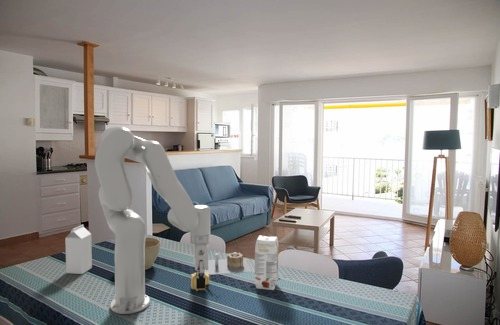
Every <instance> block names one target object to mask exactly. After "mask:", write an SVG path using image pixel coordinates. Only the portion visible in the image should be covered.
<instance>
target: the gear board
mask: <svg viewBox="0 0 500 325" xmlns="http://www.w3.org/2000/svg"><path fill="white" fill-rule="evenodd" d="M233 253H234V257H237V253H238V252H233ZM214 255H215V256H214V259H208V270H205V273H209V276H212V275H213V276H214V275H224V274H225V275H226V274H240V273H251V272H253V270H252V267H251V266H250V265H249V262H248V260H247V259H246V257H243V265H242V267H239V268H230V267H229V266H227V258H224V259H223V258H222V259H220V257H219V255H220V254H219V253H217V252H216V253H215V254H214Z"/></svg>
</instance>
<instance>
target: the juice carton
mask: <svg viewBox="0 0 500 325" xmlns="http://www.w3.org/2000/svg"><path fill="white" fill-rule="evenodd" d="M278 278H279V238H278V236H265V235H261V234H260V235H258V237H257V239H256V240H255V246H254V283H255V284H254V285H255V288H256V289H258V290H268V291H274V290H275V289H276V285H277V282H278Z"/></svg>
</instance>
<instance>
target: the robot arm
mask: <svg viewBox="0 0 500 325" xmlns="http://www.w3.org/2000/svg"><path fill="white" fill-rule="evenodd" d="M99 139H100V143H99V145H98V147H97V150H96V152H95V157H94V166H95V171H96V175H97V178H98V182H99V185H100V187H99V190H98V199H99V203H100V206H101V207H102V208H101V209H102V211H103V214H104V217H105V220H106V222H107V225H108V227H109V230H110V231H111V232H112V233H113V234H114V235H115V236H114V237H115V244H114V254H113V256H114V257H113V258H114V292H115V293H114V299H112V301H111V302H110V306H109V308H110V310H111V311H112V313H116V314H119V315H128V314H129V315H130V314H134V313H138V312H141V311H143V310H144V309H146V308H148V306H149V305H150V304H151V299H150V296H148V295H147V294H146V270H145V239H146V237H147V225H146V222H145V220H144V219H143V217H142V216H141V215H139V214H138V213H137V212H135V211H134V209H133V203H134V201H135V194H134V191H133V188H132V186H131V183H130V180H129V177H128V174H127V169H126V164H125V158H126V159H128V160H131V161H134V162H137V163H140V164H142V166H143V168H144V170H145V171H146V174H147V176H148V178H149V181H150V183H151V185H152V187H153V189H154V190H155V191H156V193H157V194H158V195H159V196H160V197H161V198H162V199H163V200H164V201H165V203H166V204H168V207H170V209H169V211H168V213H167V220H168V223H170V224H171V225H172V226H173V227H176V228H177V229H179V230H181V231H182V232H186V233H187V232H188V233H190V235H189V236H190V237H189V238H190V239H189V240H190V244H191V245H193V263H194V268H195V272H197V278H196V288H197V289H202V288H205V286H206V285H205V270H208V260H209V244H210V243H211V214H212V213H211V211H212V210H211V207H210V206H208V205H206V204H195V205H194V202H193V201H192V199H191V196H189V194H188V193H187V190H186V189H185V188H184V186H183V185H182V183H181V181H180V180H179V179H178V178H177V175H176V172H175V170H174V168H173V166H172V164H171V162H170V160H169V157H168V155H167V152H166V150H165V148H164V146H163V145H162V144H161V143H160V142H158V141H155V140H147V139H143V138H141V137H138V136H136V135H135V134H133V132H132V131H131V130H130V129H129V128H127V127H125V126H111V127H108V128H106V129H105V130H103V131H102V133H101V135H100V138H99ZM195 272H194V273H195ZM199 272H200V273H199Z"/></svg>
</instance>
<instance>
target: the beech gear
mask: <svg viewBox="0 0 500 325" xmlns="http://www.w3.org/2000/svg"><path fill="white" fill-rule="evenodd" d="M236 253H237V257H234V252H231V253H227V256H226V259H227V266H229V267H230V268H239V267H242V265H243V258H244V254H242V253H241V252H236Z"/></svg>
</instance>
